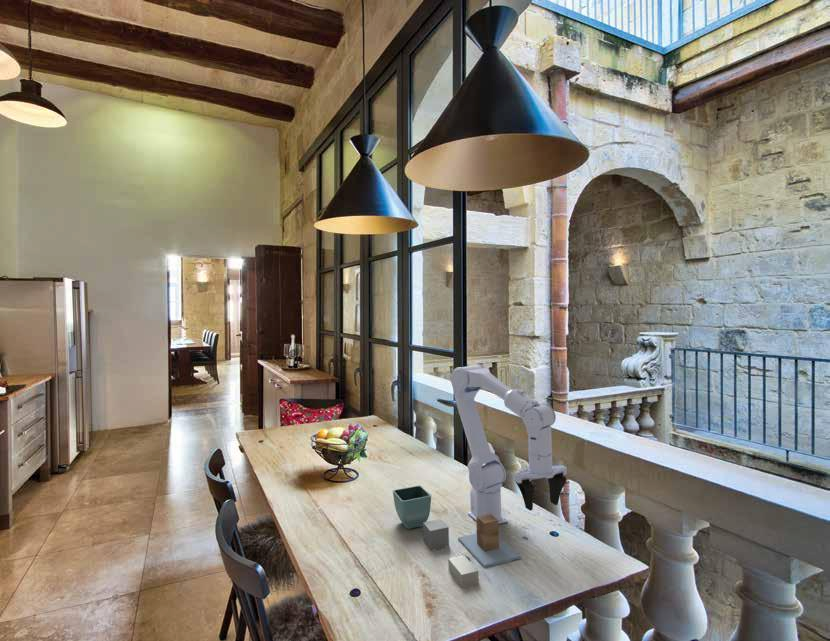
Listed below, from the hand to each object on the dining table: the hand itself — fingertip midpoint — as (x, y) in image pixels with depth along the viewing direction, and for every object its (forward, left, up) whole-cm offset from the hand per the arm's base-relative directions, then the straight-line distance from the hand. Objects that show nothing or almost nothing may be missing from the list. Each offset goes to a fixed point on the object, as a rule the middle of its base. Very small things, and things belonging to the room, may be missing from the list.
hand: (541, 506), depth 114 cm
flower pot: (-23, -27, -10) cm, 37 cm away
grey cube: (-10, -25, -10) cm, 29 cm away
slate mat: (-3, -14, -9) cm, 17 cm away
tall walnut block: (-3, -14, -9) cm, 17 cm away
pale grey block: (+5, -25, -10) cm, 27 cm away
